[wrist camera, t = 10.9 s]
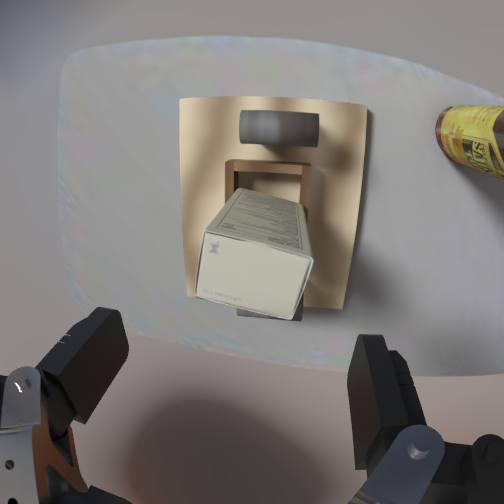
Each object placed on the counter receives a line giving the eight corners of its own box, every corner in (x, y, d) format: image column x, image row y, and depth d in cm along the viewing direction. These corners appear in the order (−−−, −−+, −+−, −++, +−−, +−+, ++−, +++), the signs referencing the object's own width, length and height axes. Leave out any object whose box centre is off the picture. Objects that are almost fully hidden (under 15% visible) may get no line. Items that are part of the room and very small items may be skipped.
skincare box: (228, 229, 29) (188, 296, 18) (238, 184, 27) (199, 227, 16) (293, 247, 29) (291, 324, 18) (307, 202, 27) (315, 258, 16)
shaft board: (364, 106, 26) (385, 100, 19) (341, 303, 35) (348, 342, 28) (183, 99, 28) (154, 94, 21) (190, 290, 37) (169, 325, 30)
